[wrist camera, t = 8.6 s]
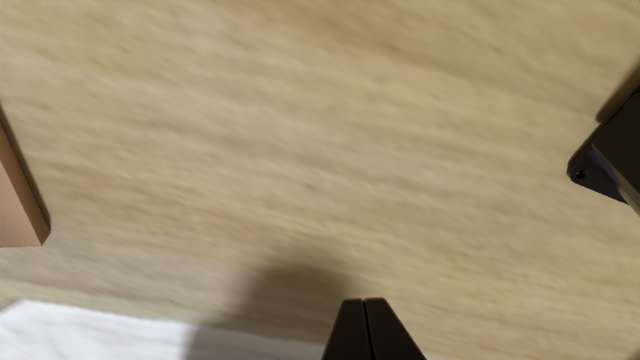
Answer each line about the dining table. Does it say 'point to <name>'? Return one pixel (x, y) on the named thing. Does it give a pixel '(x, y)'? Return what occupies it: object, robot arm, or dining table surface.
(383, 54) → the dining table surface
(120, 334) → the dining table surface
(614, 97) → the dining table surface
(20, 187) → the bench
